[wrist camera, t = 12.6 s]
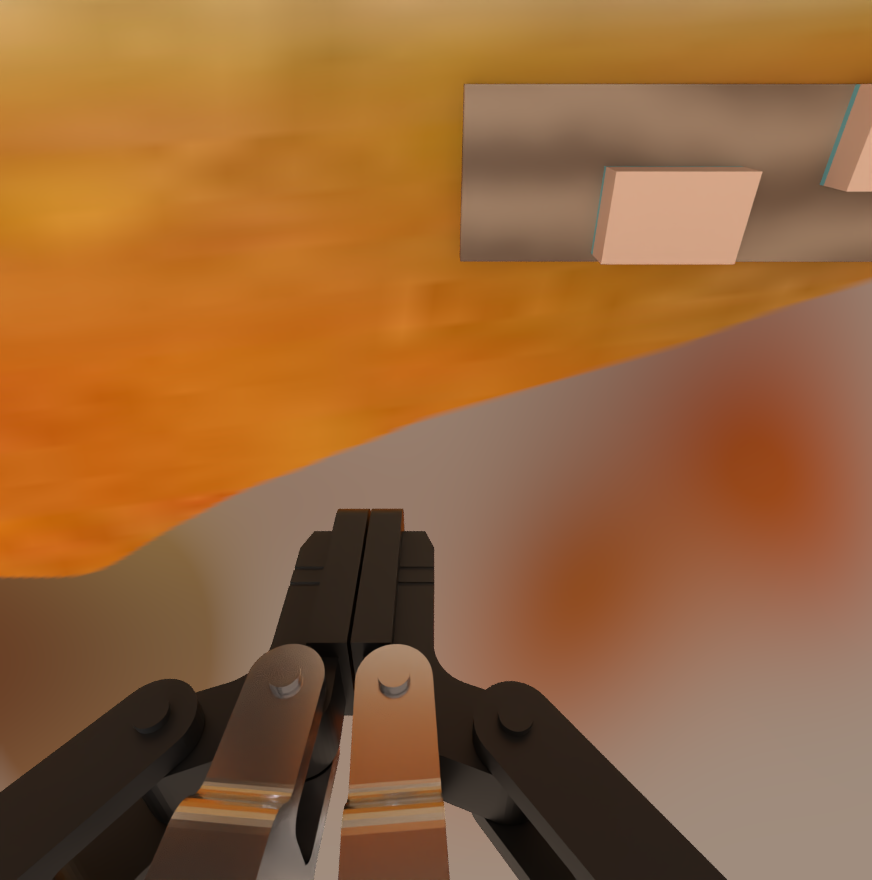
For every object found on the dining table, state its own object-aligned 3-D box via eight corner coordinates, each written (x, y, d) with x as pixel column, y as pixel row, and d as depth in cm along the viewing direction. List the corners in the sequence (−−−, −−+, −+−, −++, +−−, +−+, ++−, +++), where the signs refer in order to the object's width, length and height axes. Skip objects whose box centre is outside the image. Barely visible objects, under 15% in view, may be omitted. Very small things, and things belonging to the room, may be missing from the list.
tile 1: (616, 171, 29) (762, 171, 29) (604, 166, 31) (740, 166, 31) (600, 264, 32) (734, 264, 32) (590, 253, 34) (716, 253, 34)
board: (463, 84, 30) (464, 84, 29) (960, 84, 30) (978, 84, 29) (459, 256, 35) (460, 261, 34) (882, 256, 35) (895, 261, 34)
